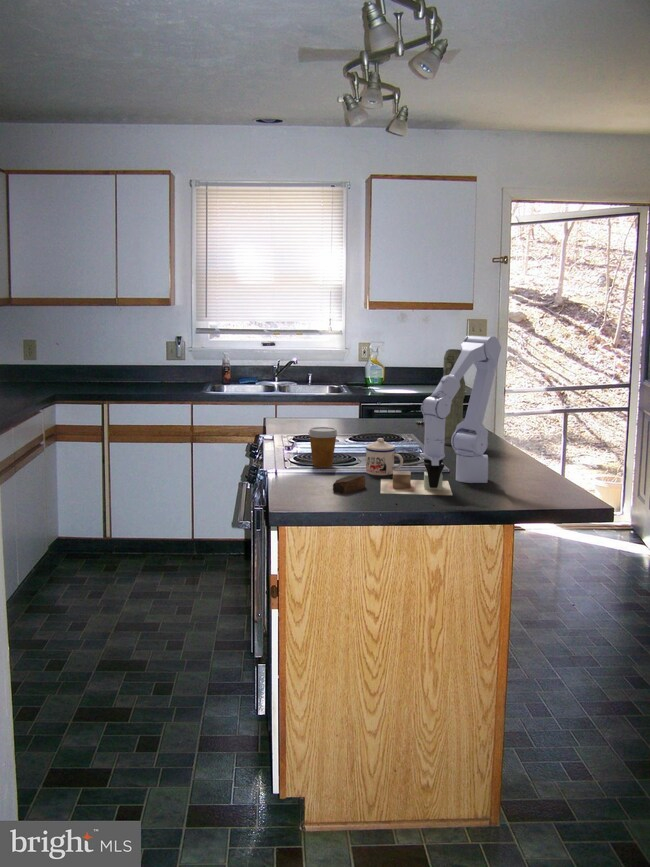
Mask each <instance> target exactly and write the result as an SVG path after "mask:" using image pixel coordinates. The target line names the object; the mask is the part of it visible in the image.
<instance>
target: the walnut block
mask: <svg viewBox="0 0 650 867" xmlns="http://www.w3.org/2000/svg"><path fill="white" fill-rule="evenodd" d="M411 473H412V472H411V470H394V471H393V474H392V479H393V488H408V489H410V486H411V480H412V479H411V477H412V474H411Z"/></svg>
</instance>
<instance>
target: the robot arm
mask: <svg viewBox="0 0 650 867" xmlns="http://www.w3.org/2000/svg"><path fill="white" fill-rule="evenodd" d="M462 341H463V342H462V343H460V350H461V354H460V356H459V357H458V359H457V361H456V363H455V365H454V367H453V369H452V371H451V372H450V374H449V375H447V376H444V377H443V376H442V377H441V379H440V381H439V383H438V384H437V386H436V388H435V389H434V390H433V392H432V393H431V395H430V396H428V397H426V398H425V399H424V400H423V401H422V402H421V403H422V404H421V406H420V411H421V413H422V415H423V420H422V421H423V422H424V442H423V444H424V445H423V446H424V448H423V452H420V453H419V457H423V459H422V460H423V463H424V468H425V469H426V472H427V473H428V480H429V486H430V488H437V487H438V483H439V478H440V475H441V472H442V473H443V470H444V468H445V464H444V463H443V461H444V459H445V456H446V454H445V445H444V443H445V417H447V415H448V414H449V413H450V409H451V404H452V399H453V398H454V396H455V395H456V393H457V392H458V390H459V388H460V382H459V381H460V380H461V378H462V377H463V376H464V377H465V374H466V373H467V372H468V370H469V369H470V368H471V366H472V365H474V366H475V368H476V372H475V376H474V379H473V380H474V381H473V384H472V388H471V392H470V397H469V401H468V404H467V405H468V406H467V409H466V414H465V417H464V420H462V422H461V423H459V424H458V425H457V427H456V430H455V432H454V434H453V435H452V439H451V445H450V446H451V448H452V449H453V450H454V453H455V454H456V461H455V463H456V464H455V481H457V482H460V483H468V484H474V483H476V484H479V483H480V484H481V483H482V484H487V483H488V480H489V479H488V478H489V456H488V454H484V453H485V452H486V450H487V449H488V445H489V443H488V442H489V440H488V436H489V431H488V429H487V428H486V427H485V425H484V424H483V423H484V419H485V414H486V411H487V406H488V403H489V398H490V394H491V390H492V387H493V381H494V378H495V374H496V371H497V366H498V362H499V359H500V354H501V351H502V346H501V343H500V341H499V339H498V338H497V337H496V336H486V335H473V334H468V335H466V336H464V339H463V340H462ZM442 463H443V464H442Z"/></svg>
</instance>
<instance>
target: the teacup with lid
mask: <svg viewBox="0 0 650 867" xmlns="http://www.w3.org/2000/svg"><path fill="white" fill-rule="evenodd" d="M384 440H385V439H384V438H383V437H379V438H377V440H376V441H374V442H372V443H370V444H367V445H366V446H365V450H366V452H365V455H366V456H365V473H366V474H368V475H372V476H389V475H393V471H398V470H400V468H401V467H402V466H403V463H404V458H403V456H402V455H401V454H399V453H395V450H396V447H395V446H394V445H393V444H390V443H388V442H387V441H384ZM395 457H397V458H398V459H399V464H398V466H396V467H395Z"/></svg>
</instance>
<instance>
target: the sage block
mask: <svg viewBox="0 0 650 867" xmlns="http://www.w3.org/2000/svg"><path fill="white" fill-rule="evenodd" d="M443 478H444V476H443V471H442V472H441V475H440V478H439V483H438V487H437V488H430V486H429V480H428V473H427V471H424V472H423V480H424V489H438V490H442V481H444V480H443Z"/></svg>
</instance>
